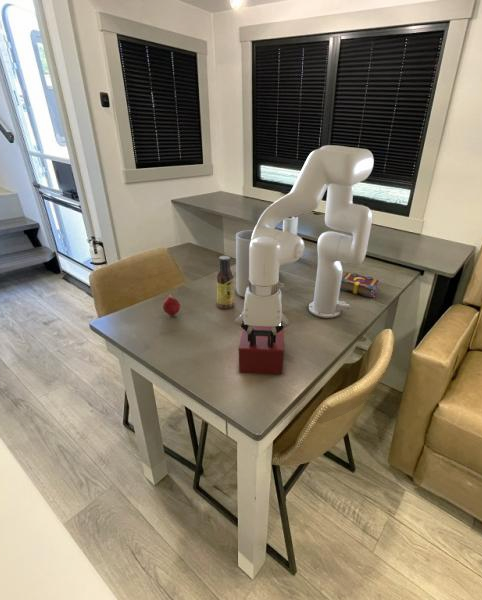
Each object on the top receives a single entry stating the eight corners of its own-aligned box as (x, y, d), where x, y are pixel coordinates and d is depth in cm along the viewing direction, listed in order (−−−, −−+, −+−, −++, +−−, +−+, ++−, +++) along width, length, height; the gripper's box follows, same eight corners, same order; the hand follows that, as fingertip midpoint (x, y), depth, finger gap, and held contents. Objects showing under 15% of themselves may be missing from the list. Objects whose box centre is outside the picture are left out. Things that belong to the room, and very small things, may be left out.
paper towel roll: (280, 257, 176) (282, 217, 166) (282, 253, 181) (284, 215, 171) (293, 259, 175) (296, 219, 165) (295, 255, 180) (298, 216, 170)
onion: (184, 313, 122) (182, 294, 118) (174, 320, 117) (172, 301, 114) (170, 309, 124) (168, 290, 120) (160, 317, 119) (158, 297, 115)
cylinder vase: (241, 301, 133) (241, 241, 121) (233, 287, 143) (232, 231, 130) (270, 296, 137) (272, 239, 125) (260, 283, 147) (261, 229, 135)
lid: (283, 352, 92) (285, 336, 89) (238, 350, 91) (238, 334, 88) (283, 321, 105) (284, 306, 102) (244, 320, 105) (244, 304, 102)
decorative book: (345, 280, 156) (347, 270, 154) (379, 288, 151) (381, 279, 148) (338, 289, 147) (339, 279, 145) (373, 299, 142) (376, 288, 139)
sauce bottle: (230, 310, 126) (229, 262, 116) (215, 307, 127) (212, 259, 117) (236, 302, 132) (235, 255, 122) (221, 300, 132) (219, 253, 123)
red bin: (282, 374, 97) (283, 350, 92) (239, 372, 96) (238, 348, 92) (282, 344, 109) (283, 322, 105) (244, 342, 109) (244, 320, 105)
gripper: (296, 281, 88) (291, 337, 97) (232, 278, 87) (233, 334, 96) (297, 294, 81) (292, 353, 90) (228, 291, 81) (229, 350, 90)
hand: (261, 342), depth 93 cm, fingers closed on lid, 5 cm apart
